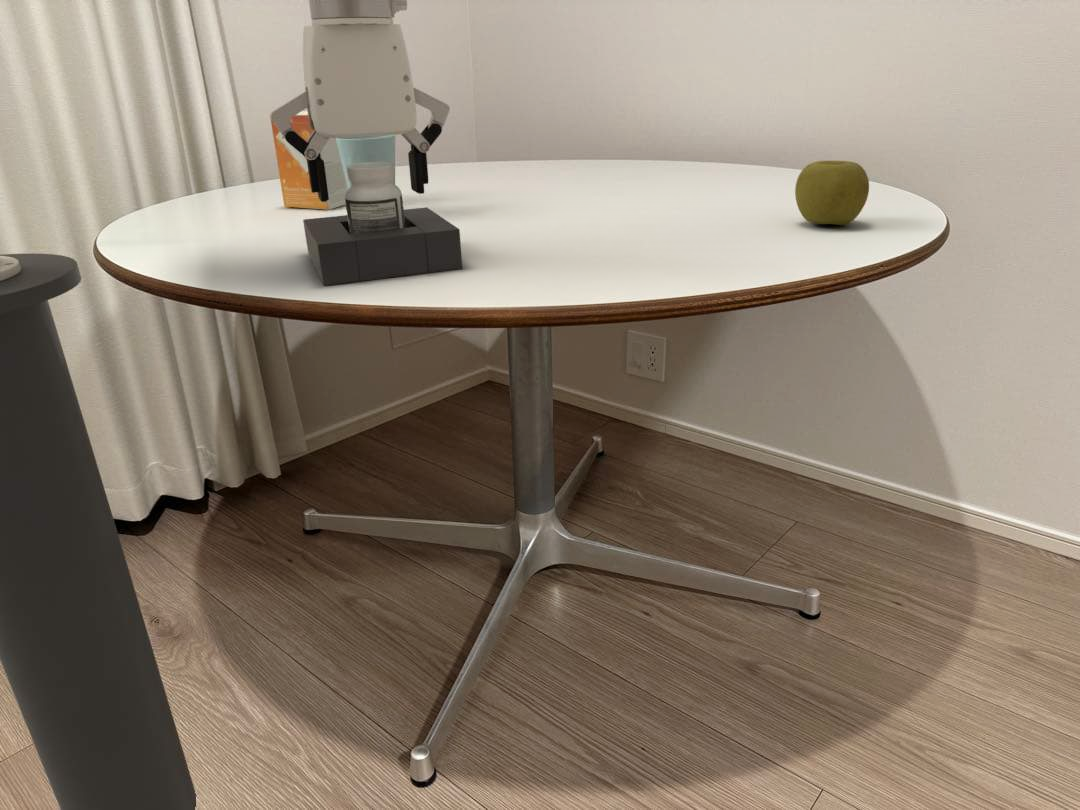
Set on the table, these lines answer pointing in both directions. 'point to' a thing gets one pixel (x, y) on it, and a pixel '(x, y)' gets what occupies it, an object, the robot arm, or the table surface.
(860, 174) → the apple
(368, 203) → the pill bottle
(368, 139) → the cup
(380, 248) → the dock
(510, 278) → the table surface
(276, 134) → the small box
